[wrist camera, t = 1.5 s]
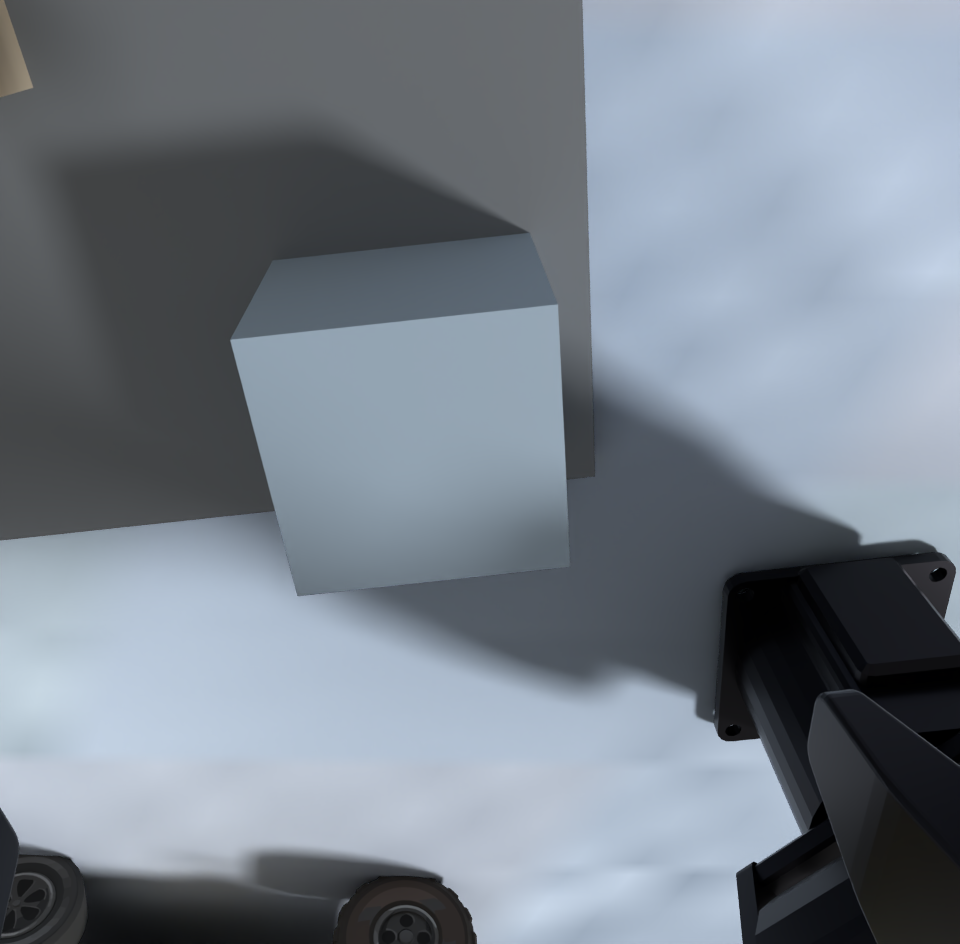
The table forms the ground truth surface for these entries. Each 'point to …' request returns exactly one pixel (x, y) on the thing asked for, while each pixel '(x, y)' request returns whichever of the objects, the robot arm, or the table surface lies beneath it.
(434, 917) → the motor vehicle
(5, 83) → the block
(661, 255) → the table surface
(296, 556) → the block
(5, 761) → the table surface
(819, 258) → the table surface
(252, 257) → the board
